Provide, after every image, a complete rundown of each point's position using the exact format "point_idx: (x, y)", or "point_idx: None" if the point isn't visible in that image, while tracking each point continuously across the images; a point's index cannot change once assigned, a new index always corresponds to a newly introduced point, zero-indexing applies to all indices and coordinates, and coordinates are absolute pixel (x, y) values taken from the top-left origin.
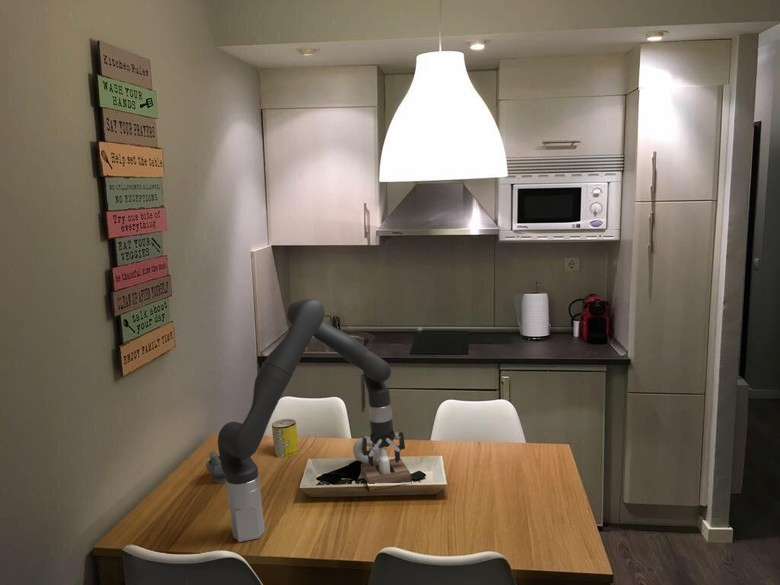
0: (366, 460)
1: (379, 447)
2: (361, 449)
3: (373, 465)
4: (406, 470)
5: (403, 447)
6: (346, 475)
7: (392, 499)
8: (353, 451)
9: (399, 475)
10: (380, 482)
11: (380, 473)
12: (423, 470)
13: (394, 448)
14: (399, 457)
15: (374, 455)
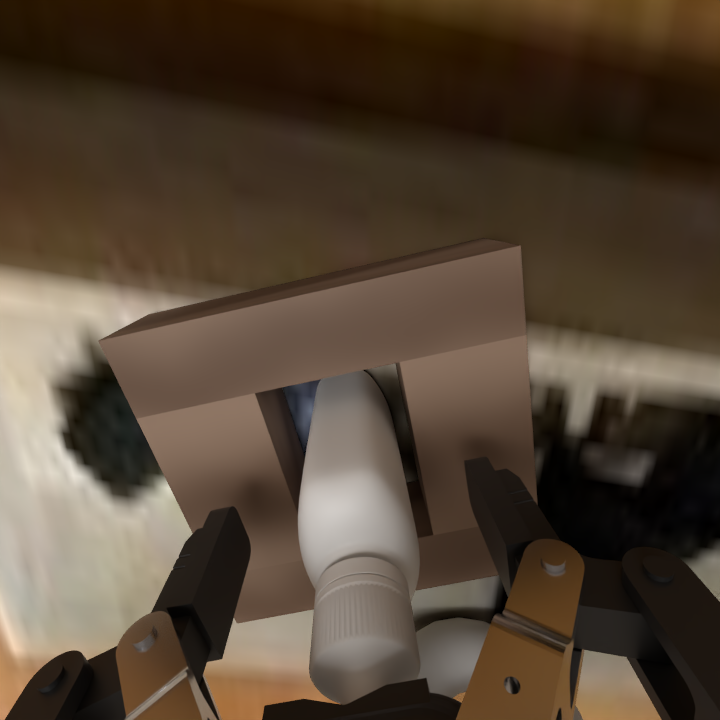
0: (473, 635)
1: (426, 694)
2: None
3: (470, 462)
4: (152, 410)
5: (44, 680)
6: (607, 505)
7: (291, 8)
8: (581, 718)
9: (208, 315)
10: (398, 267)
11: (392, 429)
12: (92, 500)
13: (181, 666)
14: (185, 555)
15: (425, 670)
